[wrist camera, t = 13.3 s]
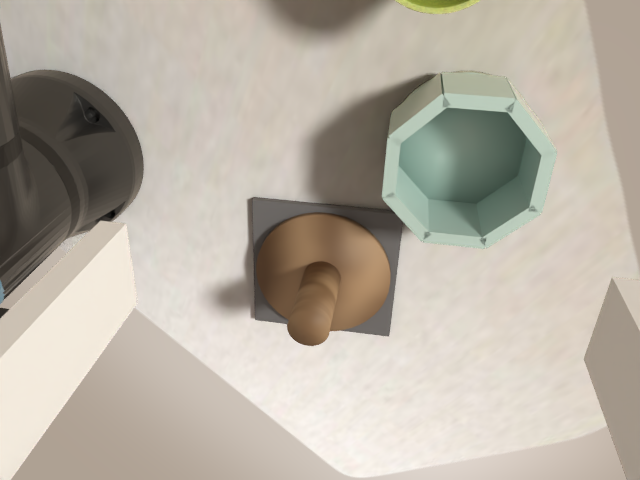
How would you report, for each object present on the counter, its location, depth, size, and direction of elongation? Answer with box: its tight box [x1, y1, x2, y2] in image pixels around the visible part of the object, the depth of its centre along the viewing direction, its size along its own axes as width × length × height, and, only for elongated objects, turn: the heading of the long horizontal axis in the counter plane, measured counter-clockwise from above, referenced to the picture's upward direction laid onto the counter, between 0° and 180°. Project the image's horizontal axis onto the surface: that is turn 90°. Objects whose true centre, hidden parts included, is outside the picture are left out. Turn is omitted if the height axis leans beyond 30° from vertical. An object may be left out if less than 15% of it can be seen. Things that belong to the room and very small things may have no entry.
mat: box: [252, 197, 403, 336], centre depth 57 cm, size 14×14×1 cm
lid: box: [256, 212, 391, 346], centre depth 53 cm, size 13×13×9 cm
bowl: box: [382, 71, 557, 249], centre depth 46 cm, size 12×12×7 cm
